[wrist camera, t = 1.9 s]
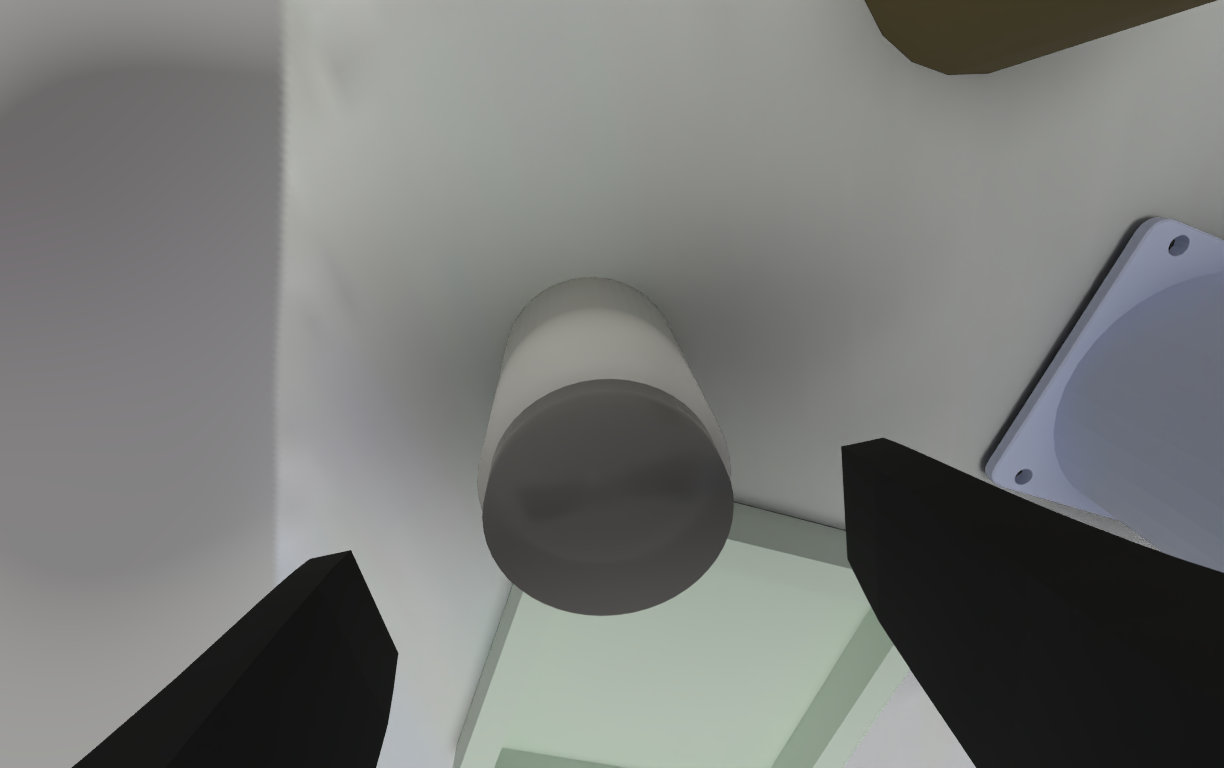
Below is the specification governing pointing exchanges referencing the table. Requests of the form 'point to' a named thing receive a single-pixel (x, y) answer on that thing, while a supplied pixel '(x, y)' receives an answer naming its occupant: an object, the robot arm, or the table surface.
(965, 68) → the cork
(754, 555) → the tray
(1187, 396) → the robot arm
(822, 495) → the table surface
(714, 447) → the salt shaker
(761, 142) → the table surface
